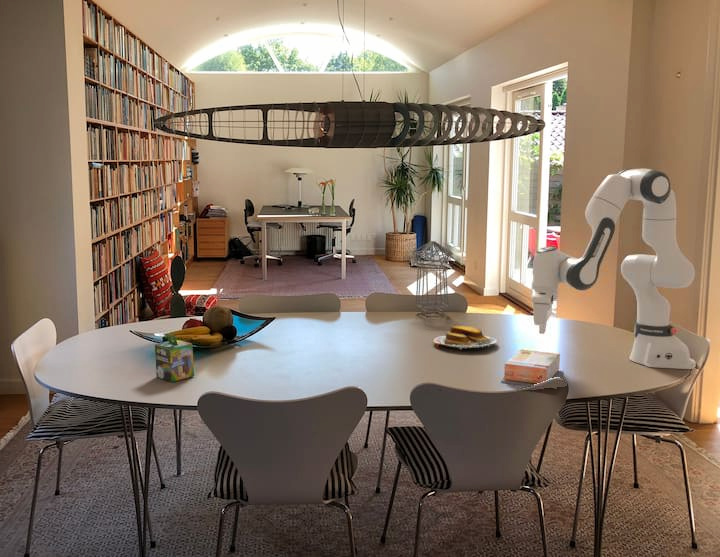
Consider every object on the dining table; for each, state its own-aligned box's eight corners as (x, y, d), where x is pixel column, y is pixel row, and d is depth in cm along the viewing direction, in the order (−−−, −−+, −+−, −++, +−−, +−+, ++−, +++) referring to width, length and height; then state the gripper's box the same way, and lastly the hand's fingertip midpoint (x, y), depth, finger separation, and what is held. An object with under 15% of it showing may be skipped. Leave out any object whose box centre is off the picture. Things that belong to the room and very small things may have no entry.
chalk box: (194, 377, 242) (193, 333, 240) (171, 383, 235) (169, 338, 233) (178, 371, 248) (177, 329, 246) (155, 377, 242) (153, 334, 239)
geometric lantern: (422, 318, 333) (422, 243, 328) (410, 312, 348) (410, 240, 343) (454, 316, 337) (454, 241, 332) (441, 310, 352) (442, 239, 347)
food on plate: (431, 352, 277) (432, 336, 276) (433, 337, 301) (433, 321, 300) (499, 355, 274) (500, 338, 273) (495, 339, 298) (496, 323, 297)
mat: (563, 372, 252) (563, 371, 251) (557, 389, 233) (557, 387, 233) (511, 366, 258) (511, 365, 258) (501, 382, 240) (501, 381, 239)
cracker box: (520, 365, 259) (503, 379, 241) (520, 348, 258) (503, 362, 240) (559, 370, 253) (545, 385, 234) (560, 353, 252) (546, 367, 233)
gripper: (539, 288, 262) (537, 325, 264) (531, 298, 243) (528, 338, 245) (557, 289, 259) (554, 327, 262) (550, 299, 240) (548, 340, 243)
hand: (542, 332), depth 253 cm, fingers closed
